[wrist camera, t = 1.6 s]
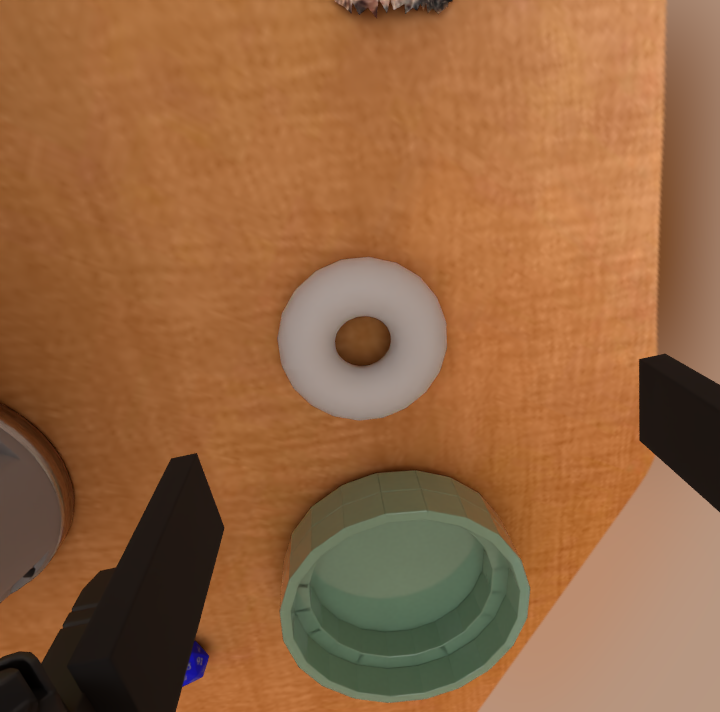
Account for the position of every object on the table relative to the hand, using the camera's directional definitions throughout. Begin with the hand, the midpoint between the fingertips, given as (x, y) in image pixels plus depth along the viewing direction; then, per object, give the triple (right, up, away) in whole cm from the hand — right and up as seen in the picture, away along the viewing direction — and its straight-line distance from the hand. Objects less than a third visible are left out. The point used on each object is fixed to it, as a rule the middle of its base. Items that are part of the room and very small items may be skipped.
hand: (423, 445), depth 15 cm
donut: (-2, +4, +17) cm, 18 cm away
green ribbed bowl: (+1, -13, +23) cm, 27 cm away
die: (-15, -20, +25) cm, 35 cm away
